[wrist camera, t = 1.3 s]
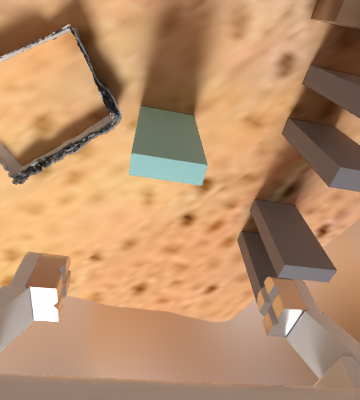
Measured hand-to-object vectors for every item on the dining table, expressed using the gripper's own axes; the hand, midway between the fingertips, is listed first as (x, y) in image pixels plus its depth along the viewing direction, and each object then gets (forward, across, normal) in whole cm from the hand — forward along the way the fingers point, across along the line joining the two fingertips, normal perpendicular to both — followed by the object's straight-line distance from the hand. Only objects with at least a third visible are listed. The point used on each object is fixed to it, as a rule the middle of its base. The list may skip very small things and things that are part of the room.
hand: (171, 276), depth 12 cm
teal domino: (+19, 0, 0) cm, 19 cm away
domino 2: (+19, -14, -6) cm, 24 cm away
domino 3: (+19, -14, -2) cm, 24 cm away
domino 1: (+19, -14, +13) cm, 27 cm away
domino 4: (+19, -14, +8) cm, 25 cm away
